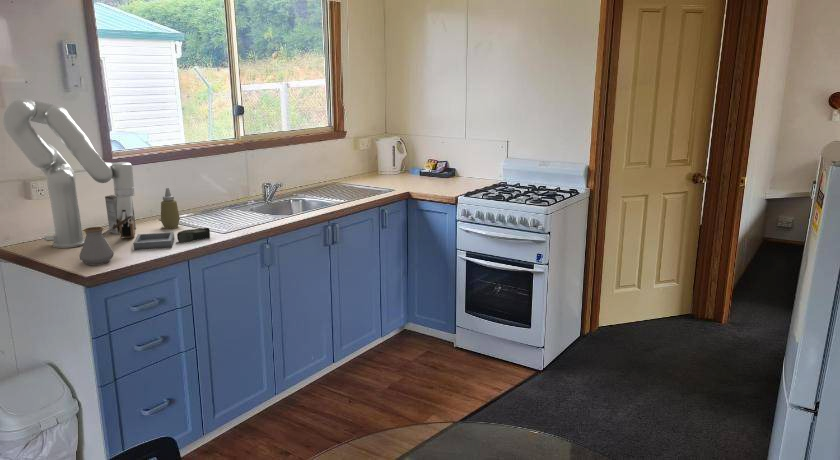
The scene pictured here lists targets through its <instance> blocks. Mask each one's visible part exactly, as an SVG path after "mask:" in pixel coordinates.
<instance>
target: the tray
mask: <svg viewBox="0 0 840 460" xmlns="http://www.w3.org/2000/svg"><path fill="white" fill-rule="evenodd" d="M174 241H175V232H174V231H171V232H169V231H168V232H151V233H150V232H149V233H138V234H137V235H136V237H135V239H134V241H133V243H132V244H133V245H132V246H133V251H142V250H143V251H145V250H158V249H159V250H160V249H172V248H173V245H174Z"/></svg>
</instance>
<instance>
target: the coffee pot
mask: <svg viewBox="0 0 840 460" xmlns="http://www.w3.org/2000/svg"><path fill="white" fill-rule="evenodd" d="M131 217H132V216H129V217H128V218H125V220H122V221H120V222H119V223H117V224H116V225H115V226H113V227H112V228H111V229H109V228H108V229H107V230H106V231H104V228H103V227H102V226H92V227H91V226H90V227H86V228H84V229H83V232H85V235H86V236H85V237H84V238H85V241H84V244H83V245H82V247H81V251H80V253H79V260H80V261H82V263H84V264H86V265H87V264H88V265H87V266H100V265H99V264H101V265H105V264H107V262H108V263H109V262H110V261H111V259H112V258H113V257H114V255H115V252H114V250H113V249H112V247H111V246H110V245H109V242H108V241H107V239H106V238H105V236H106V235H107V234H109V233H111V232H110V231H112V230H113V229H115V228H117V227H118V226H120V225H122V224H123V223H124V222H125V221H128V219H131ZM132 218H133V217H132ZM133 219H134V218H133ZM131 220H132V219H131ZM103 231H104V232H103ZM104 263H105V264H104Z"/></svg>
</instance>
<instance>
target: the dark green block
mask: <svg viewBox="0 0 840 460" xmlns="http://www.w3.org/2000/svg"><path fill="white" fill-rule="evenodd" d="M210 238H211V231H210V227H201V228H194V229H193V228H191V229H184V230H180V231H179V232H177V234H176V239H177V242H175V244H176V245H178V244H184V242H185V243H190V242H196V241H202V240H208V239H210Z"/></svg>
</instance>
